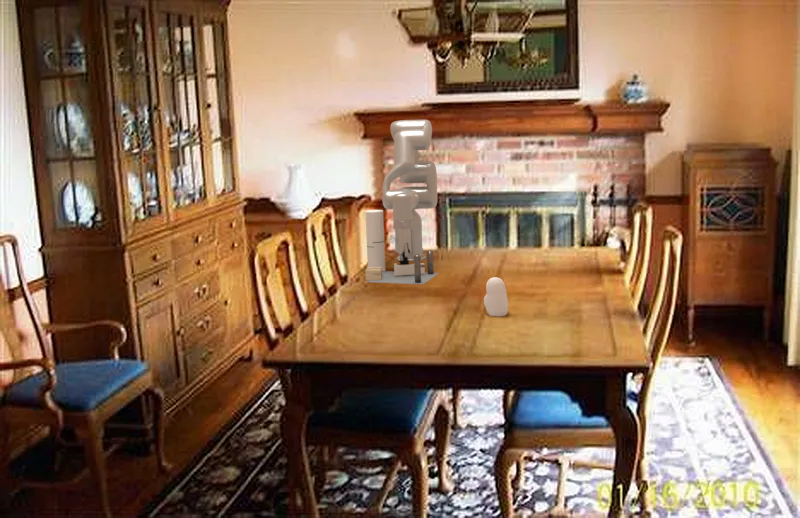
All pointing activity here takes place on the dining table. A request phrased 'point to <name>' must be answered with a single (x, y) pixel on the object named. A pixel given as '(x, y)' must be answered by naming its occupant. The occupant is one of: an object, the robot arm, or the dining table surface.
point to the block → (373, 273)
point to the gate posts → (418, 266)
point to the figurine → (496, 297)
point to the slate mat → (403, 278)
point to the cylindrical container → (375, 238)
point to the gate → (407, 269)
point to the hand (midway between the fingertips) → (404, 270)
